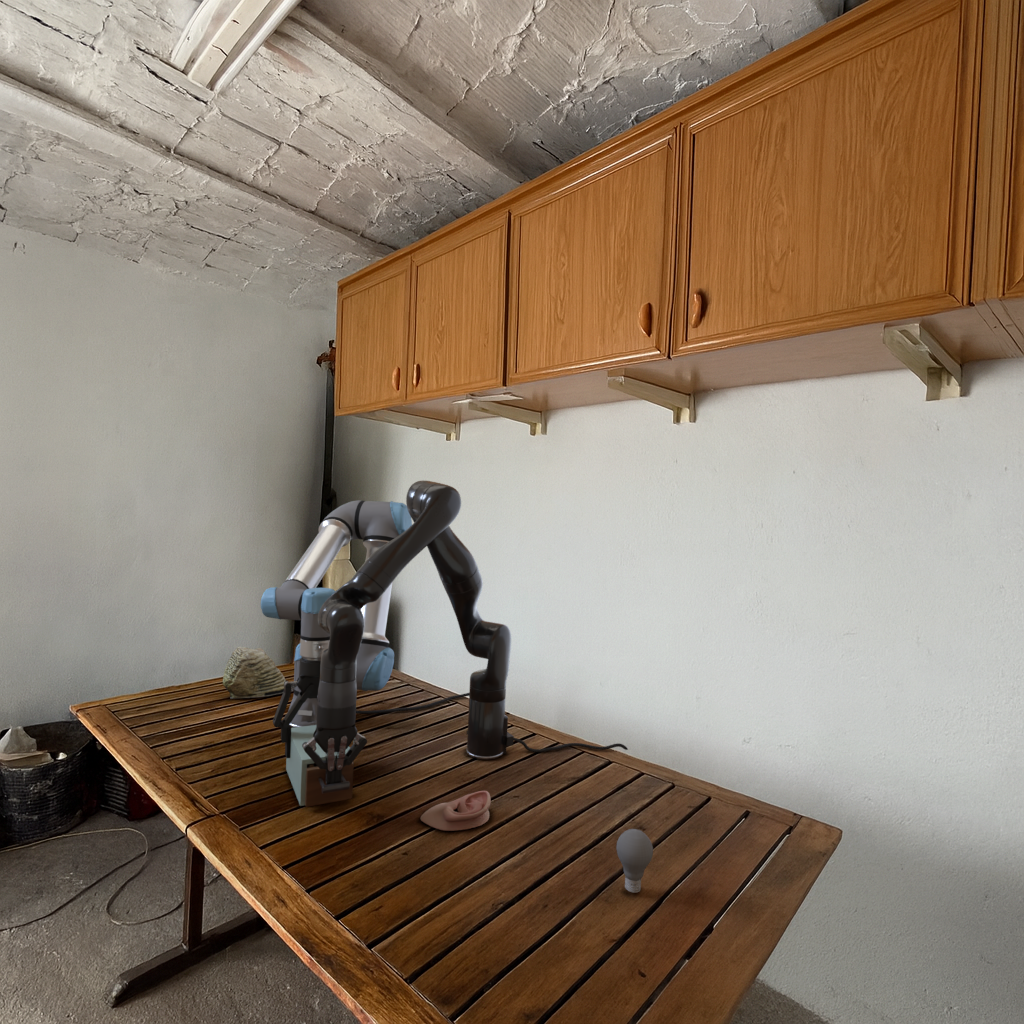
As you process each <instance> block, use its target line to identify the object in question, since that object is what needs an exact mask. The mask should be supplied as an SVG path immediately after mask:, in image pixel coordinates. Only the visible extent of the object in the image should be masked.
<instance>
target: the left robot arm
mask: <svg viewBox="0 0 1024 1024" xmlns="http://www.w3.org/2000/svg"><path fill="white" fill-rule="evenodd" d="M412 524H413V520H412V518H411V516H410V514H409V512H408V509H407V504H405V503H404V502H396V501H392V500H391V501H381V500H380V501H379V500H363V499H361V500H358V499H357V500H351V501H349V502H346V503H343V504H341V505H340V506H338V507H336V508H335V509H334V510H332V511H331V512H330V513H328V514H327V516H325V517H324V519H323V520H322V521H321V522H320V524H319V526H318V533H317V535H316V536H315V538H314V539H313V541H312V542H311V543H310V544H309V546H308V548H307V549H306V551H305V552H304V553H303V554H302V556H301V557H300V558H299V561H298V562H297V563H296V565H295V566H294V567H293V569H292V570H291V572H289V574H288V576H287V578H286V579H285V580H284V581H283V582H282V584H281V586H279V587H277V586H274V587H269V588H266V589H265V590H264V591H263V593H262V596H261V599H260V610H261V612H262V614H263V616H264V617H266V618H268V619H269V618H271V619H277V620H288V621H289V620H290V621H300V641H299V643H298V644H297V645H296V647H295V652H294V653H295V654H294V659H293V661H294V672H293V681H289V680H286V681H285V682H284V692H283V693H281V694H282V695H281V697H280V700H279V703H278V705H277V708H276V710H275V714H274V716H273V719H272V724H273V727H274V728H280V740H281V743H282V744H284V756H285V758H290V750H291V728H295V727H303V726H311V725H316V724H317V702H318V701H317V696H318V688H319V682H320V665H321V656H322V653H323V652H324V651H325V650H326V649H328V647H329V641H330V634H329V633H327V632H325V631H324V630H323V629H322V628H321V627H320V626H319V623H318V613H319V611H320V609H321V607H322V605H323V604H324V602H325V601H326V600H327V599H328V598H329V597H330V596H331V595H332V594H333V593H335V592H336V591H337V590H338V589H337V590H334V589H333V588H329V587H318V585H319V584H320V583H321V582H322V581H321V580H322V579H323V577H324V576H325V575H326V573H327V571H329V568H330V567H331V565H332V563H333V562H334V560H335V559H336V557H337V556H338V554H339V553H340V551H341V549H342V548H344V547H345V546H348V545H349V543H350V542H351V541H353V540H362V545H363V546H364V548H365V549H366V554H365V561H364V563H365V562H366V560H367V559H368V558H369V557H370V556H371V555H372V554H373V553H374V552H375V551H376V550H378V549H379V548H380V547H382V546H383V545H385V544H386V543H388V542H390V541H391V540H393V539H394V538H396V537H397V536H399V535H400V534H402V533H403V532H405V531H406V530H407V529H408V528H409V527H410V526H411V525H412ZM393 583H394V581H393V582H392V583H391V585H390V586H389V587H388V588H387V590H386V591H385V592H384V593H383V595H382V596H381V597H380V598H379V599H378V600H377V601H375V602H371V603H367V604H366V605H364V606H363V607H362V608H361V609H360V610H361V611H362V613H363V616H364V633H363V637H362V641H361V645H360V649H359V652H358V655H357V671H356V684H357V691H364V692H368V691H370V692H371V691H373V692H377V691H381V690H382V689H383V688H384V687H385V686H386V685H387V684H388V682H389V680H390V678H391V675H392V673H393V670H394V664H395V652H394V650H393V649H392V648H391V647H390V641H389V639H388V638H387V637H386V632H387V631H386V630H387V623H388V617H389V610H390V603H391V597H392V590H393ZM292 692H293V695H292ZM291 695H292V696H293V697H292V699H291V702H290V704H289V708H288V711H287V713H286V709H287V707H288V703H289V701H290V698H291ZM465 697H469V692H466V693H462V694H456V695H451V696H449V697H445V698H443V699H440V700H437V701H433V702H431V703H428V704H427V703H426V704H423V705H419V706H412V707H410V706H409V707H399V708H388V709H377V710H357V709H356V715H374V714H375V715H376V714H387V713H398V712H411V711H417V710H418V711H419V710H424V709H428V708H431V707H434V706H437V705H440V704H443V703H446V702H448V701H451V700H454V699H460V698H465ZM285 713H286V714H285ZM284 714H285V716H284Z"/></svg>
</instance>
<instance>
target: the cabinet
mask: <svg viewBox="0 0 1024 1024" xmlns="http://www.w3.org/2000/svg"><path fill="white" fill-rule="evenodd" d="M315 730H316V725H311V726H303V727H295V728H291V750H290V758H286V757H285V758H286V760H285V761H286V762H285V764H286V765H285V770H286V772H287V773H286V774H287V776H288V778H289V780H290V782H291V786H292V789H293V791H294V794H295V796H296V799H297V801H298V805H299V806H300V807H302V806H305V790H306V768H307V764H313V763H314V761H313V760H312V759H311V758H310V757H309V756H308V755H307V753H306V752H305V751H304V749H303V747H302V744H303V743H304V742H308V741H310V740H311V739H312V738H313V734H314V732H315ZM350 748H351V746H349V747H348V748H347V749H346V751H345V754H346V753H347V752H348V750H349V749H350ZM315 752H316V753H317V754H318V755H319V756H320V757H321V759H322V760H325V752H324V751H323V750H322V749H321V747H320V746H319V745H318V744H317V743H316V750H315ZM334 756H335V752H334ZM334 760H335V759H334Z"/></svg>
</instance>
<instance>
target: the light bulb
mask: <svg viewBox="0 0 1024 1024" xmlns="http://www.w3.org/2000/svg"><path fill="white" fill-rule="evenodd" d="M615 849H616V854H617V857H618V859H619V861H620V863H621V865H622V867H623V873H624V874H623V875H624V876H625V878H624V888H625V890H627V891H628V892H630V893H634V894H635V893H639V892H640V891H641V889H642V887H641V886H642V879H643V877H644V875H645V871H646V868H647V867H648V866H649V864H650V863H651V861H652V859H653V855H654V847H653V843H652V841H651V838H649V836H648V835H647V834H646V833H645V832H643V831H642V830H641V829H636V828H629V829H627V830H625V831H623V832H622V833H621V834H620V835H619V837H618V839H617V841H616V847H615Z"/></svg>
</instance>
